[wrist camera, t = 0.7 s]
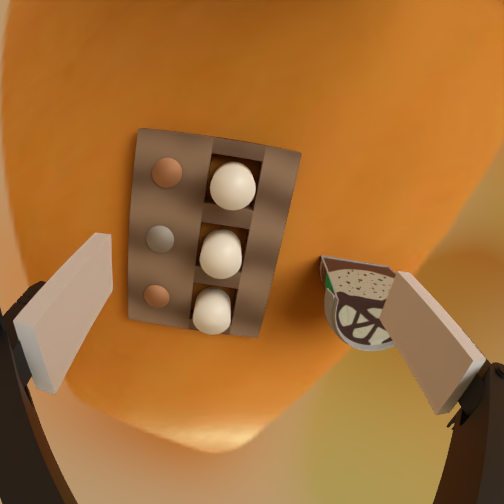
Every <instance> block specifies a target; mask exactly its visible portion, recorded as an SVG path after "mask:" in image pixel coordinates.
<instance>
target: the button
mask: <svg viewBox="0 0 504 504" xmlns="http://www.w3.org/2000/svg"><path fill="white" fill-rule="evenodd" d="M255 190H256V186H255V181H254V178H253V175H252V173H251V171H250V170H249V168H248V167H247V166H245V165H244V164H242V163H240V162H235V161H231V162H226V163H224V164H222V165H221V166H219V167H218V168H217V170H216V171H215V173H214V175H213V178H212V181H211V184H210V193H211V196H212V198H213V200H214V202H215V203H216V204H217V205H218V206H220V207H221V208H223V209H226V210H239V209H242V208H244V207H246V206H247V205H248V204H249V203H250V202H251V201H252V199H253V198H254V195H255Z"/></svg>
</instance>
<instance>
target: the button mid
mask: <svg viewBox="0 0 504 504" xmlns="http://www.w3.org/2000/svg"><path fill="white" fill-rule="evenodd" d="M241 263H242V255H241V243H240V240H239V238H238V236H237V235H236V234H235V233H234V232H232V231H230V230H228V229H216V230H213V231H211V232H210V233H209V234H208V235H207V236H206V237H205V239H204V241H203V246H202V250H201V255H200V264H201V267H202V269H203V270H204V272H205V273H206V274H208V275H209V276H211V277H213V278H217V279H226V278H229V277H231V276H233V275H234V274H236V273H237V272H238V270H239V269H240V267H241Z"/></svg>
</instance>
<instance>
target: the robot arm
mask: <svg viewBox="0 0 504 504" xmlns="http://www.w3.org/2000/svg"><path fill="white" fill-rule="evenodd" d="M112 291H113V279H112V250H111V234H104V233H94V234H93V235H92V236H91V237H90V238H89V239H88V240H87V241H86V242H85V243H84V244H83V245H82V246H81V247H80V248H79V249H78V250H77V251H76V252H75V253H74V254H73V255H72V256H71V257H70V258H69V259H68V260H67V261H66V262H65V263H64V264H63V265H62V266H61V267H60V268H59V270H58V271H57V272H56V273H55V274H54V275H53V276H52V277H51V278H50V279H49V280H48V281H47V282H44V281H40V282H38V283H36V284H34V285H32V286H30V287H29V288H28V289H27V290H26V292H25V293H24V294H23V296H21V297H20V298H19V299H18V300H17V303H14V304H13V305H12V307H11V308H10V309H9V310H8V311H7V312H6V313H5V314H4V316H2V313H1V309H0V498H1V501H2V504H78V503H77V501H76V500H75V498H74V496H73V494H72V492H71V491H70V489H69V487H68V485H67V483H66V481H65V479H64V477H63V475H62V473H61V471H60V469H59V466H58V464H57V462H56V460H55V458H54V456H53V453H52V451H51V449H50V446H49V444H48V441H47V439H46V436H45V434H44V432H43V429H42V427H41V424H40V421H39V418H38V415H37V413H36V410H35V407H34V404H33V401H32V398H31V395H30V392H29V389H28V387H27V383H28V382H29V380H30V378H31V376H32V379H33V381H34V384H35V386H36V388H37V389H39V390H42V391H45V392H48V393H52V394H55V395H56V393H57V391H58V389H59V387H60V385H61V383H62V381H63V379H64V377H65V375H66V373H67V371H68V369H69V367H70V365H71V364H72V362H73V360H74V358H75V356H76V354H77V352H78V350H79V348H80V347H81V345H82V343H83V341H84V339H85V337H86V336H87V334H88V332H89V330H90V328H91V327H92V325H93V323H94V321H95V320H96V318H97V316H98V314H99V313H100V311H101V309H102V308H103V306H104V304H105V302H106V301H107V299H108V297H109V296H110V294H111V292H112ZM379 319H380V321H381V323H382V324H383V326H384V327H385V329H386V331H387V332H388V334H389V335H390V337H391V339H392V340H393V342H394V344H395V345H396V347H397V349H398V350H399V352H400V353H401V355H402V357H403V358H404V360H405V362H406V364H407V365H408V367H409V368H410V370H411V372H412V374H413V375H414V377H415V379H416V381H417V382H418V384H419V386H420V388H421V389H422V391H423V393H424V394H425V396H426V398H427V400H428V402H429V404H430V405H431V407H432V409H433V411H434V413H435V415H440V414H445V413H449V412H450V411H451V410H452V409H453V407H454V406H455V405H456V403H457V402H459V404H460V405H461V408H460V409H459V411H458V412H457V413H456V414H455V416H454V417H453V418H452V419H451V421H450V422H449V423H448V425H447V427H450V426H451V424H453V423H455V424H454V427H453V428H452V430H453V434H452V438H451V443H450V447H449V451H448V455H447V459H446V463H445V466H444V470H443V473H442V477H441V480H440V484H439V487H438V490H437V493H436V496H435V499H434V502H433V504H504V365H503V364H500V363H492V364H490V362H489V361H488V360H487V359H486V358H485V356H484V355H483V354H482V352H481V351H480V350H479V349H478V347H477V346H476V345H474V343H473V342H472V340H471V339H469V337H468V336H467V334H466V333H465V332H464V331H463V330H462V329H461V328H460V327H459V326H458V325H457V323H456V322H455V321H454V320H453V319H452V318H451V317H450V316H449V314H448V313H447V312H446V311H445V310H444V309H443V308H442V307H441V305H440V304H439V303H438V302H437V301H436V300H435V299H434V298H433V297H432V296H431V295H430V294H429V292H427V290H426V289H425V288H424V287H423V286H422V285H421V284H420V283H419V282H418V281H417V280H416V279H415V278H414V277H413V276H412V274H411V273H410V272H402V271H397V273H396V276H395V278H394V281H393V284H392V286H391V289H390V292H389V294H388V297H387V299H386V302H385V305H384V307H383V309H382V312H381V314H380V317H379Z"/></svg>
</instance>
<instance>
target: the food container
mask: <svg viewBox="0 0 504 504" xmlns="http://www.w3.org/2000/svg"><path fill="white" fill-rule="evenodd" d="M319 270H320V277H321V281H322V284H323V287H324V290H325V298H324V311H325V316H326V319H327V322H328V324H329V325H330V327H331V328H332V330H333V331H334V332H335V333H336V334H337V335H338V336H339V338H340V339H341V340H343V341H344V342H345V343H347V344H349V345H350V346H352V347H354V348H356V349H360V350H365V351H378V350H384V349H388V348H391V347H393V346H396V345H395V344H394V342H393V340H392V339H391V337H390V335H389V334H388V332H387V331H386V329H385V327H384V326H383V324H382V323H381V321H380V319H379V317H380V314H381V312H382V309H383V307H384V305H385V302H386V299H387V297H388V294H389V292H390V289H391V286H392V284H393V281H394V278H395V276H396V273H395V272H394V271H393V270H392V269H391V268H390V267H389V266H384V265H378V264H372V263H366V262H359V261H353V260H347V259H341V258H334V257H328V256H322V255H321V257H320V262H319Z"/></svg>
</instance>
